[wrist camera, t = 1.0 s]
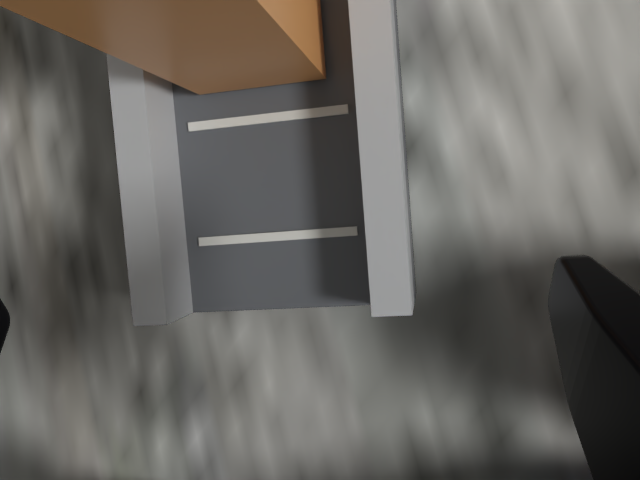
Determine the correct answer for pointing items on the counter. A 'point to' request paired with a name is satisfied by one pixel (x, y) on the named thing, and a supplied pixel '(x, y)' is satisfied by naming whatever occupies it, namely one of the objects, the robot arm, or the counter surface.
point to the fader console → (270, 183)
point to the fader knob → (196, 38)
